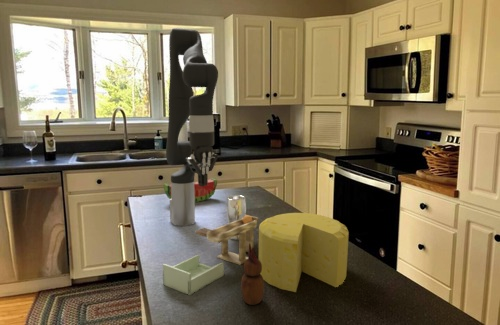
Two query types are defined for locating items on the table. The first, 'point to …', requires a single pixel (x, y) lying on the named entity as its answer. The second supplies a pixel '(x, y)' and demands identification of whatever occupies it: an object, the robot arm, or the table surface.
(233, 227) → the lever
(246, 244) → the fulcrum
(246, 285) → the wooden figurine
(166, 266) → the tray
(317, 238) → the cheese
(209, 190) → the fruit slice
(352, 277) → the table surface
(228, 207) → the beer glass
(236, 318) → the table surface
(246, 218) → the ball
